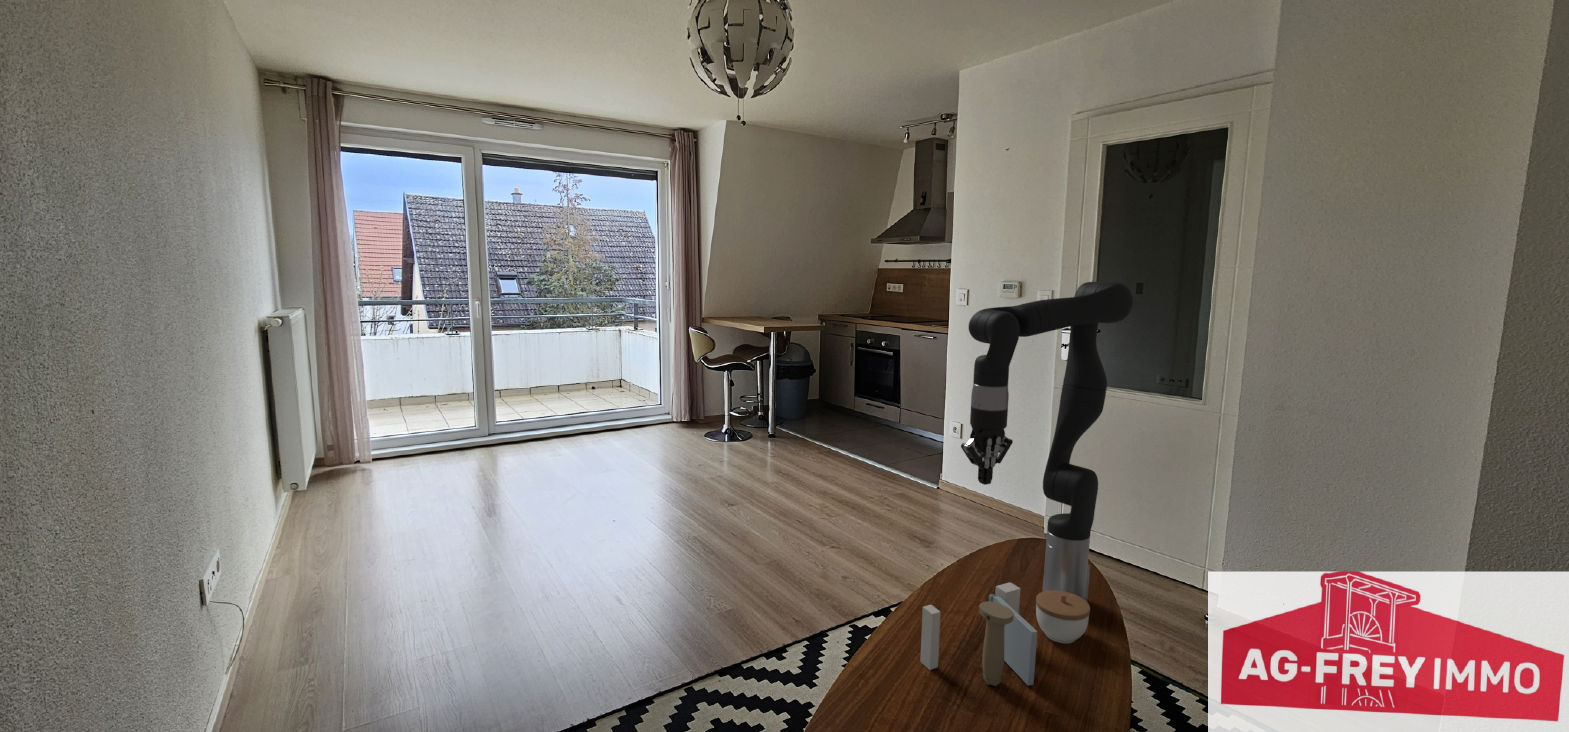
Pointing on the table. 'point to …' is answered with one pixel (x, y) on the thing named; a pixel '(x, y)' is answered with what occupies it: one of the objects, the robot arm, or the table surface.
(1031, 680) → the door
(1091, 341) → the robot arm
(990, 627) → the tan tapered grip
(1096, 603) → the table surface
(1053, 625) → the lidded jar
